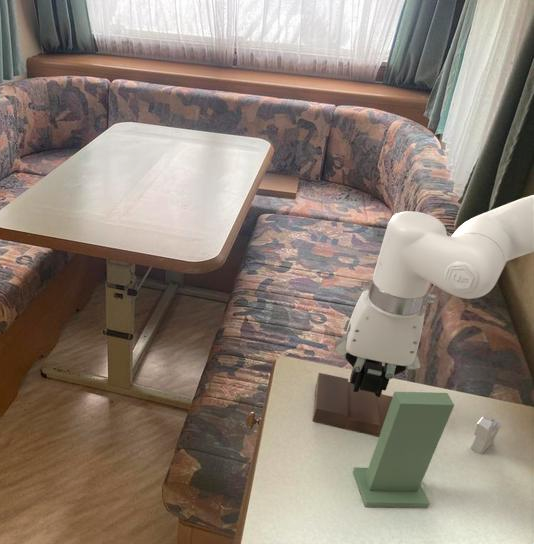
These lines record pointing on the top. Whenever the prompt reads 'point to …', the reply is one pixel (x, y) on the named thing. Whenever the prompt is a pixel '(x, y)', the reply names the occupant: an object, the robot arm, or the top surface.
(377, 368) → the clip
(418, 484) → the stand
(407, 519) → the top surface
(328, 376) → the brown stepped wooden block
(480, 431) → the white blocky piece
